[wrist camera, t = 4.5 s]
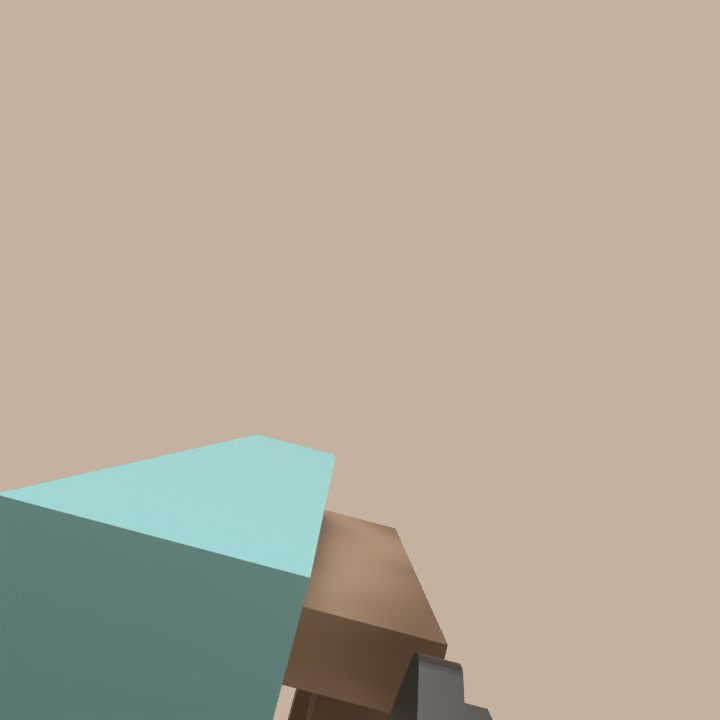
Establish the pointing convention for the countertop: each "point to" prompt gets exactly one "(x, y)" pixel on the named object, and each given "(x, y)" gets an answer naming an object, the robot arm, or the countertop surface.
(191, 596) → the teal block
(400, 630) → the walnut stand
